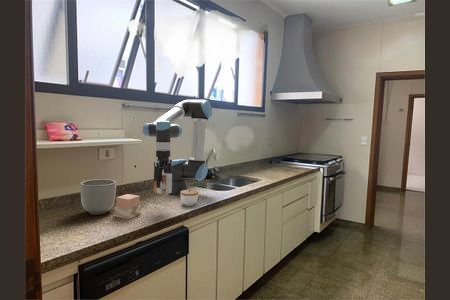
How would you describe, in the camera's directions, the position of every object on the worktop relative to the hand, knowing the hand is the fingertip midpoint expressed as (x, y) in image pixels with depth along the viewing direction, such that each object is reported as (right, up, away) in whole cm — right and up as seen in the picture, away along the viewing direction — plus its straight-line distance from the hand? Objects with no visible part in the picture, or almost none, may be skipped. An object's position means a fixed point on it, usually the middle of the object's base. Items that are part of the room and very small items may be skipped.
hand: (162, 191), depth 153 cm
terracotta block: (-16, -6, -9) cm, 19 cm away
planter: (-32, -10, -6) cm, 34 cm away
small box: (0, -1, 0) cm, 1 cm away
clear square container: (-16, -11, -8) cm, 21 cm away
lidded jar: (+12, -10, +16) cm, 22 cm away
